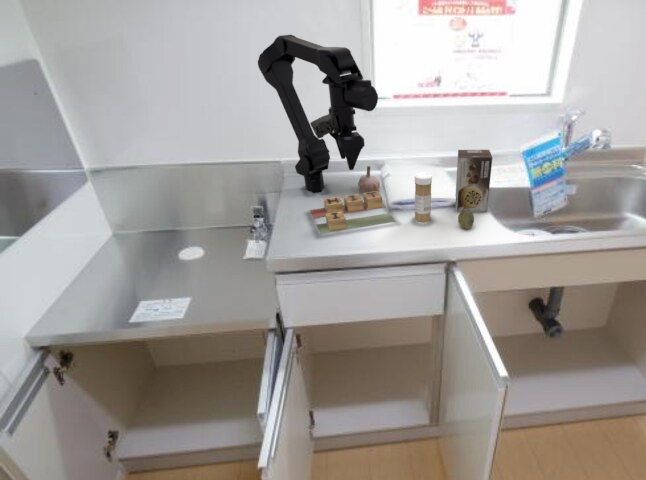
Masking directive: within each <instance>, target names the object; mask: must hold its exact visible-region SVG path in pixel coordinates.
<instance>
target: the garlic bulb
mask: <svg viewBox="0 0 646 480" xmlns="http://www.w3.org/2000/svg"><path fill="white" fill-rule="evenodd" d="M357 185H358V189H359V191H360V192H361V193H367V192H374V191H378V190H379V189H380V186H381V181H380V180H379V179H378V177H376V176H375V175H371V165H367V166H366V174H364V175H361V176H360V177H359V180H358V182H357ZM378 192H379V191H378Z"/></svg>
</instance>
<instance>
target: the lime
mask: <svg viewBox="0 0 646 480" xmlns="http://www.w3.org/2000/svg"><path fill="white" fill-rule="evenodd" d="M457 222H458V224H459V225H460V226H461V227H462V228H464V229H465V230H470V229H472V227H473V225H474V222H475V216H474V212H472V211H470V210H468V209H466V210H463V211H462V212H459V214H458V216H457Z"/></svg>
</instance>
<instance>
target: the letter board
mask: <svg viewBox="0 0 646 480" xmlns="http://www.w3.org/2000/svg"><path fill="white" fill-rule="evenodd" d="M378 209H379V210H380V209H386V206H385V205H384V204H383V207H377V208H370V209H368V208H367V207H366V205H365V204H364V201H363V210H359V211H352V212H348V211H347V209H346V207H345V205H344V204H343V210H344V213H343V215H346V214H347V215H348V214H353V213H359V212H367V211H372V210H373V211H374V210H378ZM309 213H310V214H311V217H312V219H313V220H314V219H319V218H326V216H325V214H327V212H326V210H325V207H322V208H315V209H309ZM395 222H396V223H397V220H396V219H395V218H394V217H393V215H392V214H391V213H390V212H387V213H380V214H374V215H367V216H363V217H355V218H349V219H346V226H347V228H346V229H340V230H334V231H330V230H329V228H328V226H327V223H326V222H323V223H317V224H315V226H316V228H317V231H318V232H319V235H324V234H330V233H336V232H341V231H342V232H343V231H347V230H355V229H359V228H367V227H373V226H378V225H383V224H384V225H385V224H390V223H395Z"/></svg>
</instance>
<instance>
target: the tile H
mask: <svg viewBox="0 0 646 480" xmlns="http://www.w3.org/2000/svg"><path fill="white" fill-rule="evenodd" d="M323 205H324V208H325V210H326V212H327V213H334V212H340V211H342V213H344V210H343V205H344V202H343V201H342V200H341V198H340V196H334V197H328V198H323Z"/></svg>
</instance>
